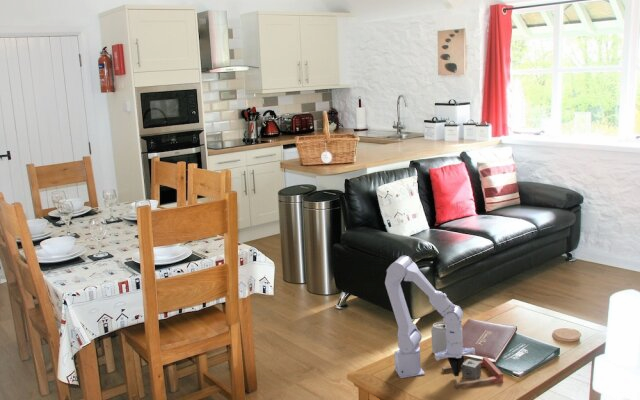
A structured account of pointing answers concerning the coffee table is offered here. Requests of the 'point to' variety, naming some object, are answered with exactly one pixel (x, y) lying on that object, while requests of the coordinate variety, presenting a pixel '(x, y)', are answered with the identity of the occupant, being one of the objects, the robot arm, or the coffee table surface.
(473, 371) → the dice cube
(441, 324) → the can
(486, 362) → the guide channel
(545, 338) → the coffee table surface
